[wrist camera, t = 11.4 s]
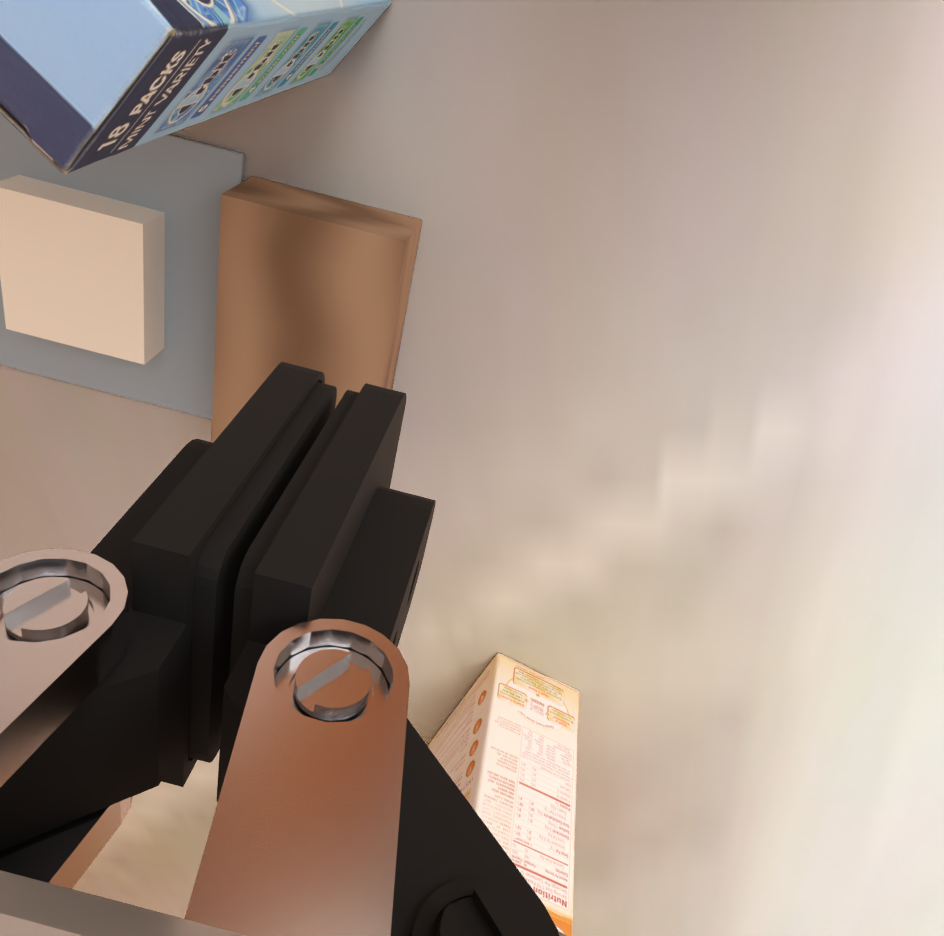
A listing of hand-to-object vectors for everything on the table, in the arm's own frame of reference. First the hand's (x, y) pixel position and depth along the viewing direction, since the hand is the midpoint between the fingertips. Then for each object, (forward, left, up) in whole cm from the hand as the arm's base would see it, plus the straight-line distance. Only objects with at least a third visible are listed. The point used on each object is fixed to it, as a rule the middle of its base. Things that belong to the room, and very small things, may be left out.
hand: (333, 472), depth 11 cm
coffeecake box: (-8, +42, -32) cm, 54 cm away
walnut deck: (+8, +13, -32) cm, 36 cm away
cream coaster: (+21, +13, -31) cm, 40 cm away
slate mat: (+21, +13, -32) cm, 41 cm away
